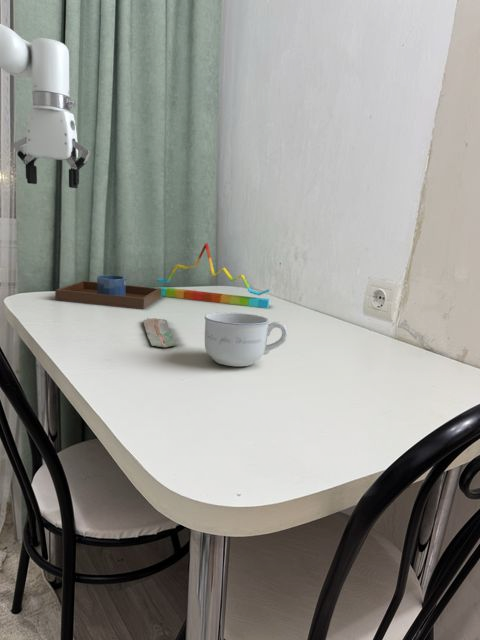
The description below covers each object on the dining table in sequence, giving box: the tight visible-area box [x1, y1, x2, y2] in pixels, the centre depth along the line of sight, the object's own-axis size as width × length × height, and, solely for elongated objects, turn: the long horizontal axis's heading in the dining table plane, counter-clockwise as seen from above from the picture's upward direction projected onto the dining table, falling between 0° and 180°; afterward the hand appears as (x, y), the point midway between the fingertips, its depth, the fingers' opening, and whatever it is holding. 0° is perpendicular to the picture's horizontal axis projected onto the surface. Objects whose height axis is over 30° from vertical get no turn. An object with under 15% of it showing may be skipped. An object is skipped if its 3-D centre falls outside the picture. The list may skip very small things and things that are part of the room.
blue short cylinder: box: [96, 274, 127, 296], centre depth 126 cm, size 7×7×5 cm
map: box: [143, 317, 179, 348], centre depth 99 cm, size 5×20×1 cm, turn 17°
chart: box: [156, 242, 271, 309], centre depth 134 cm, size 30×3×15 cm, turn 82°
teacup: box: [204, 311, 289, 367], centre depth 85 cm, size 14×11×8 cm
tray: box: [54, 280, 162, 310], centre depth 127 cm, size 21×15×2 cm
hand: (52, 185), depth 116 cm, fingers open, 9 cm apart
